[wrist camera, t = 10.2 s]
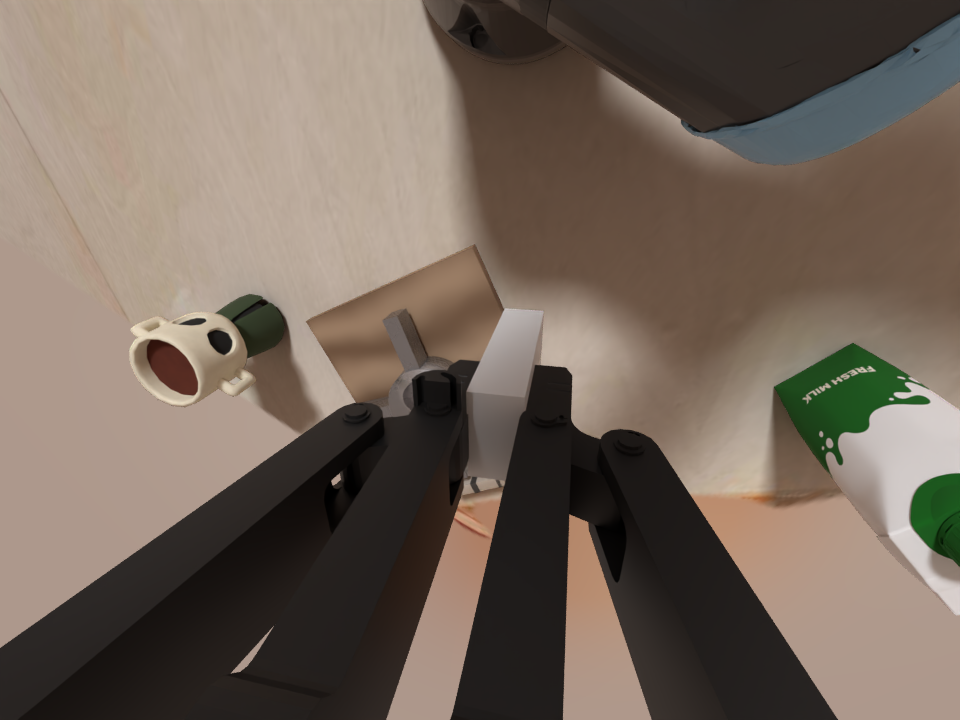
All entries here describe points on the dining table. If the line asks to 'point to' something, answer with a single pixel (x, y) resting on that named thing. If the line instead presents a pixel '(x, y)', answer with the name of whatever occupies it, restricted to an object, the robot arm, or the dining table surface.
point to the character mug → (203, 350)
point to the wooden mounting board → (436, 318)
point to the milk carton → (887, 457)
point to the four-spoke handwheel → (407, 365)
